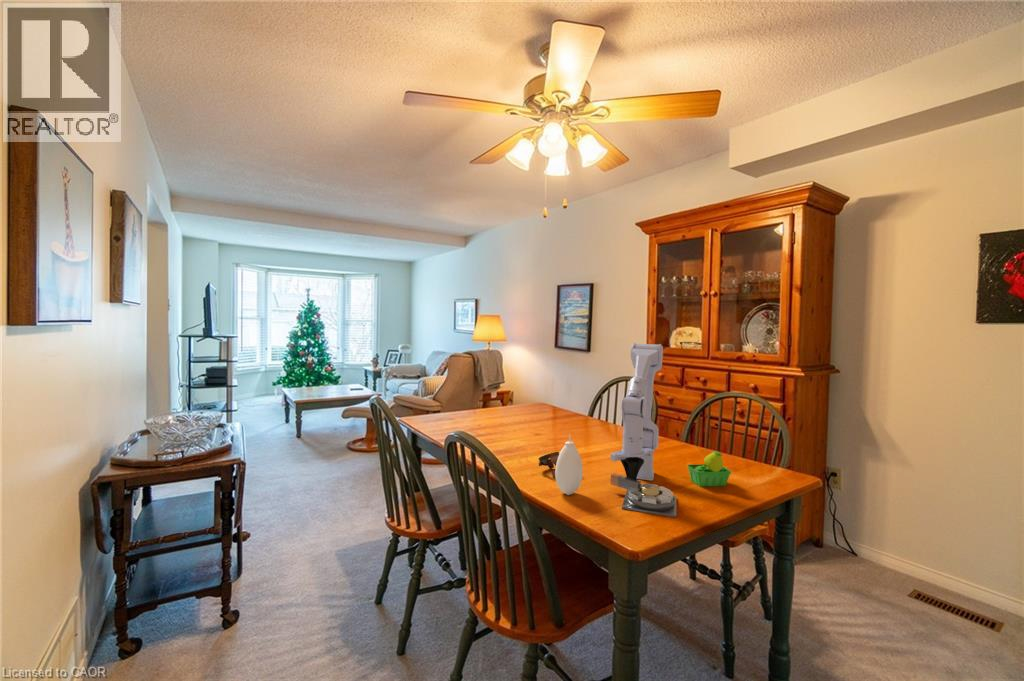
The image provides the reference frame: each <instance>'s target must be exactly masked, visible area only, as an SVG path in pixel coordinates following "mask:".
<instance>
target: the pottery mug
mask: <svg viewBox="0 0 1024 681" xmlns="http://www.w3.org/2000/svg"><path fill="white" fill-rule="evenodd" d="M559 454H560V451H553V452H551V453H547V454H544V455H541V456H539V457H538V461H539V462H538V467H541V466H542V467H543V466H544V467H546V466H547V467H548V469H550V470H551V469H553V468H555V467H556V463H557V459H558V456H559ZM551 475H552V478H553V479H556V477H555V470H553V471H551Z"/></svg>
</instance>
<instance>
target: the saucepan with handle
mask: <svg viewBox="0 0 1024 681" xmlns="http://www.w3.org/2000/svg"><path fill="white" fill-rule="evenodd" d="M645 484H647V483H644V484H643V483H642V481H640V480H639V479H636V480H634V479H631V478H628V477H626V476H624V475H622V474H619V473H615V472H614V473H611V474H610V485H612V486H615V487H618V488H622V489H625V490H627V489H628V495H629V496H630V497H632V498H633V499H635V500H637V501H640V500H642V502H644V503H650V504H656V502H657V503H659V504H665V503H670V502H671V501H673V496H674V492H673V491H672V490H671V489H669V488H666V487H665V486H663V485H662V486H659V485H658V484H653V483H649V484H650V485H655V486H658V487H659V494H660V495H657V496H651V495H645V494H643V493H641V491H642V485H645Z"/></svg>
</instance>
